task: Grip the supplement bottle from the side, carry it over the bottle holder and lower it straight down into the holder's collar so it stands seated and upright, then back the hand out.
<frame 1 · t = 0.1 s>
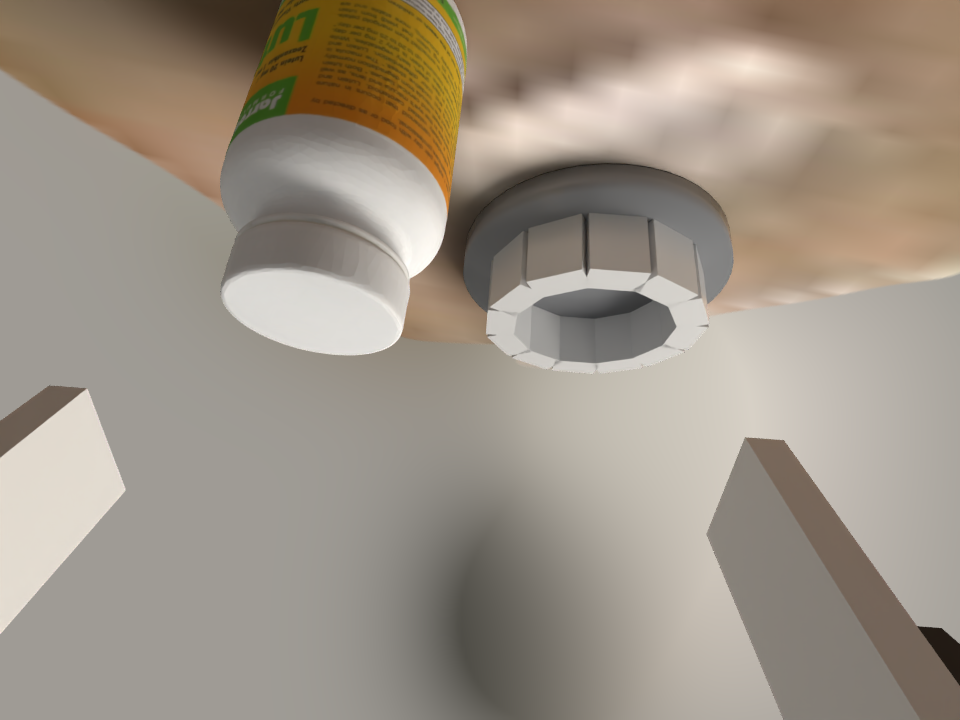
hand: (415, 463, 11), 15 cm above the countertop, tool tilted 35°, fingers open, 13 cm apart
supplement bottle: (380, 31, 18), on the countertop
bottle holder: (591, 259, 29), on the countertop
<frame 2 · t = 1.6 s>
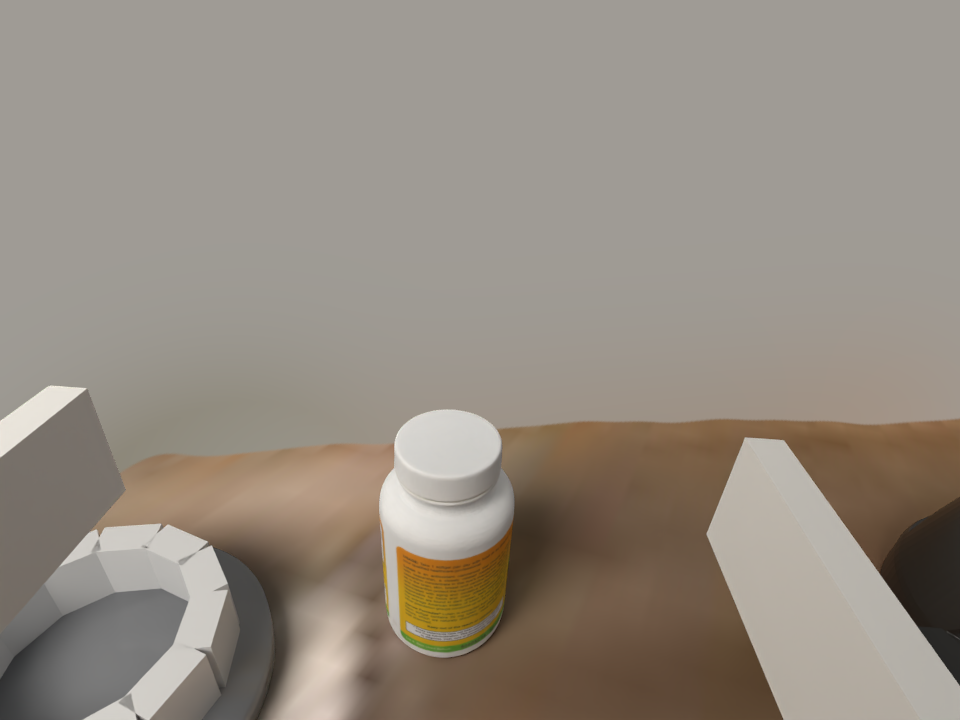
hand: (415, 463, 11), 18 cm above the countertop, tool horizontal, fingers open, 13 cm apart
supplement bottle: (445, 605, 28), on the countertop
bottle holder: (111, 689, 24), on the countertop
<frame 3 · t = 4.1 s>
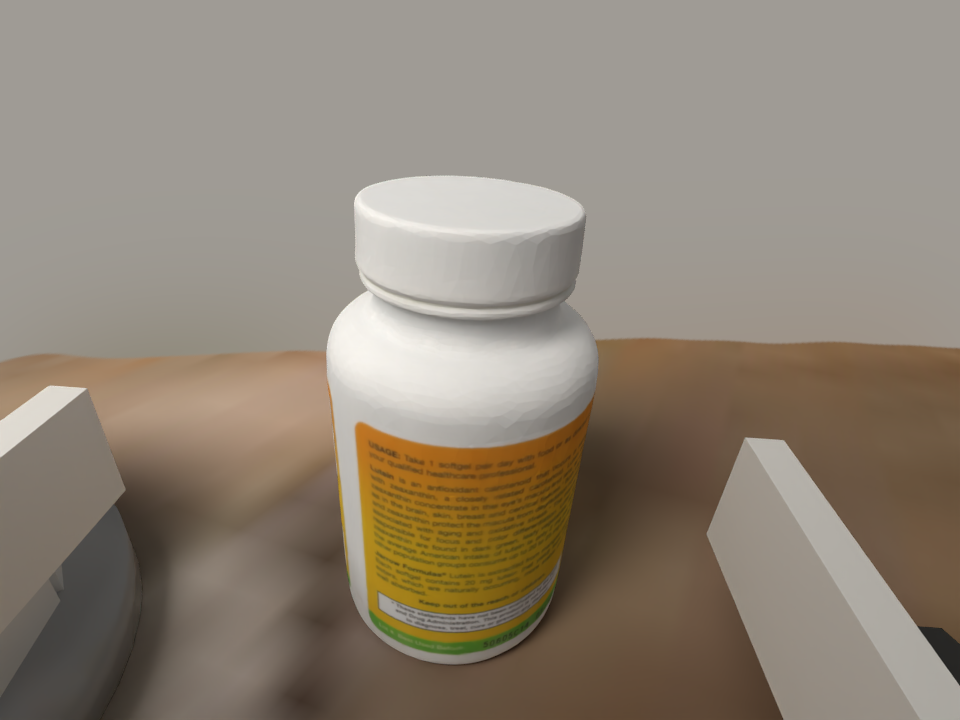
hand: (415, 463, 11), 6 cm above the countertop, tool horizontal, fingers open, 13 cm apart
supplement bottle: (453, 574, 16), on the countertop
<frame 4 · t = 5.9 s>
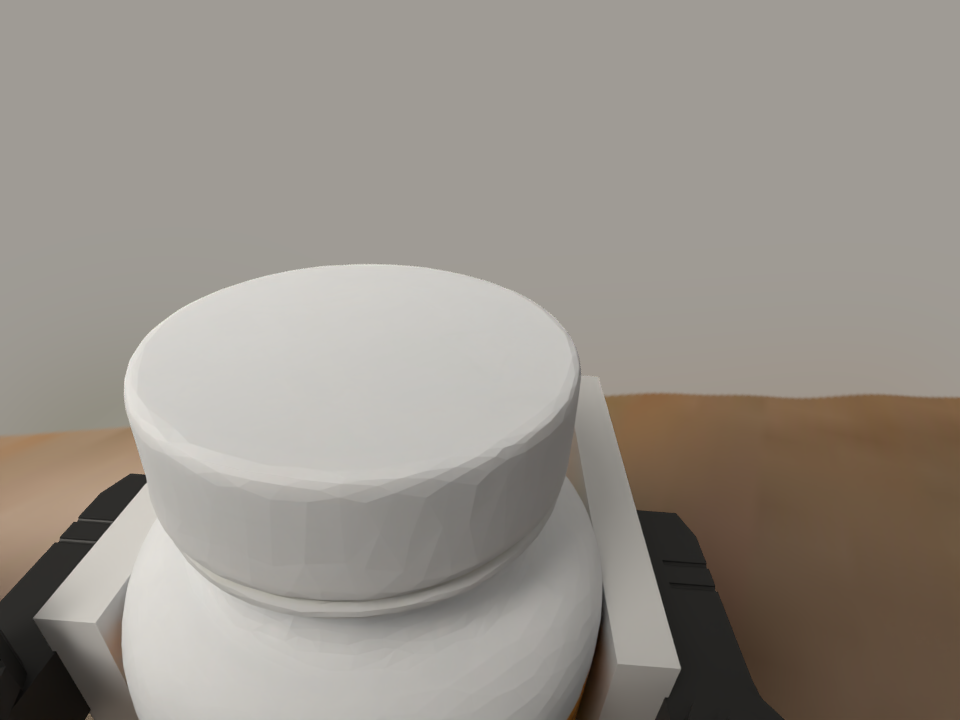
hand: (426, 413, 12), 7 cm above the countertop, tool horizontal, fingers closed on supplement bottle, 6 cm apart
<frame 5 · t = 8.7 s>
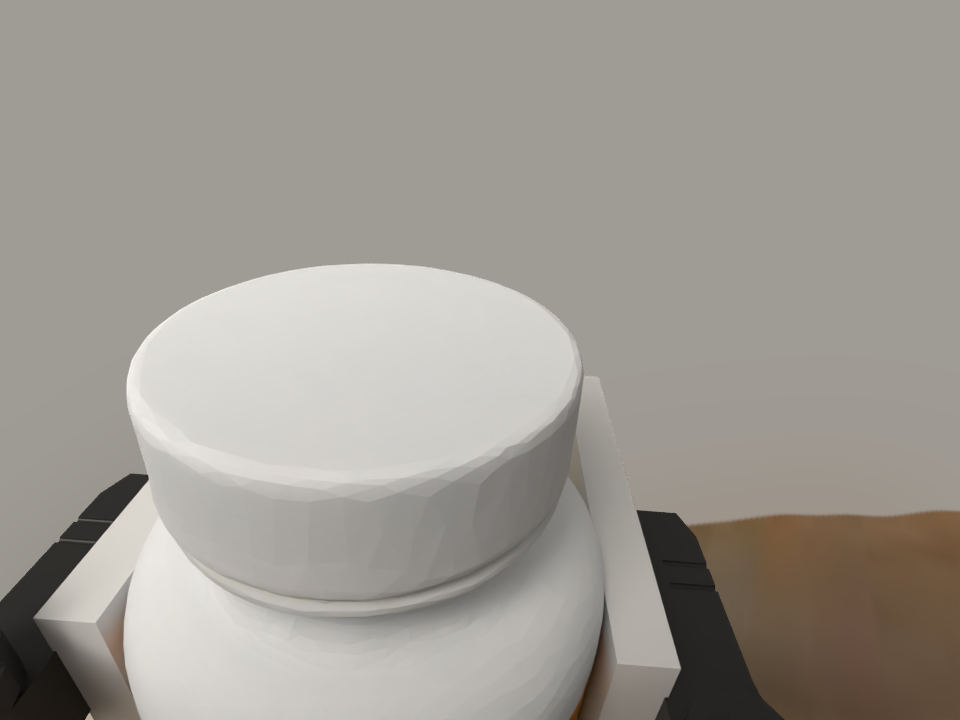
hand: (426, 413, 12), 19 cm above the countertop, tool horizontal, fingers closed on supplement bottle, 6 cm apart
when the fingers open (9 cm above the countertop, at t = 11.8 s): supplement bottle drops 1 cm, resting on bottle holder.
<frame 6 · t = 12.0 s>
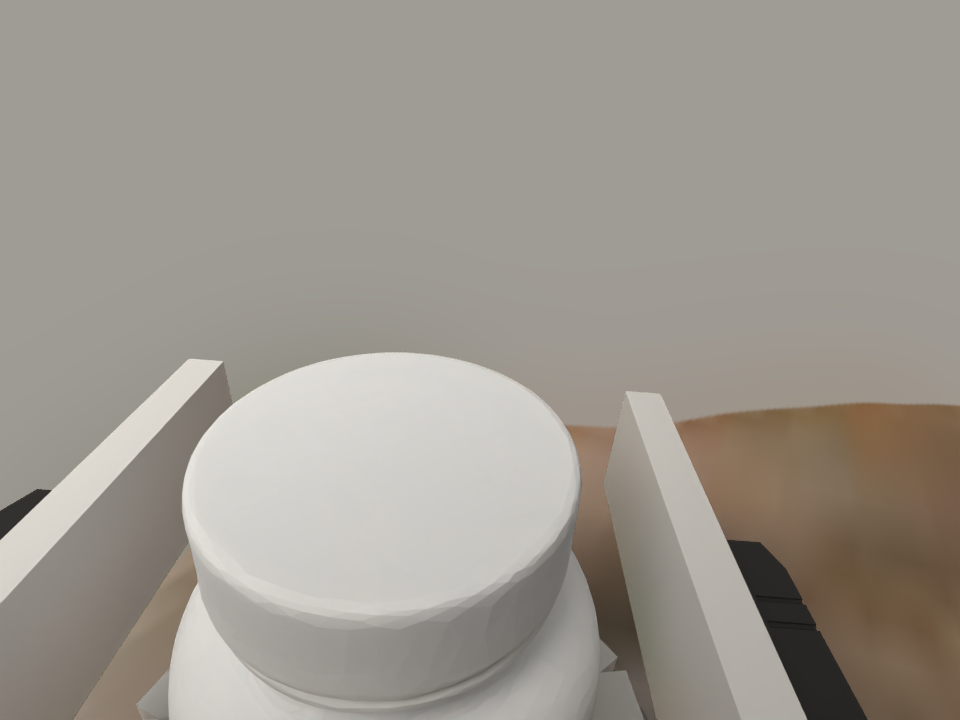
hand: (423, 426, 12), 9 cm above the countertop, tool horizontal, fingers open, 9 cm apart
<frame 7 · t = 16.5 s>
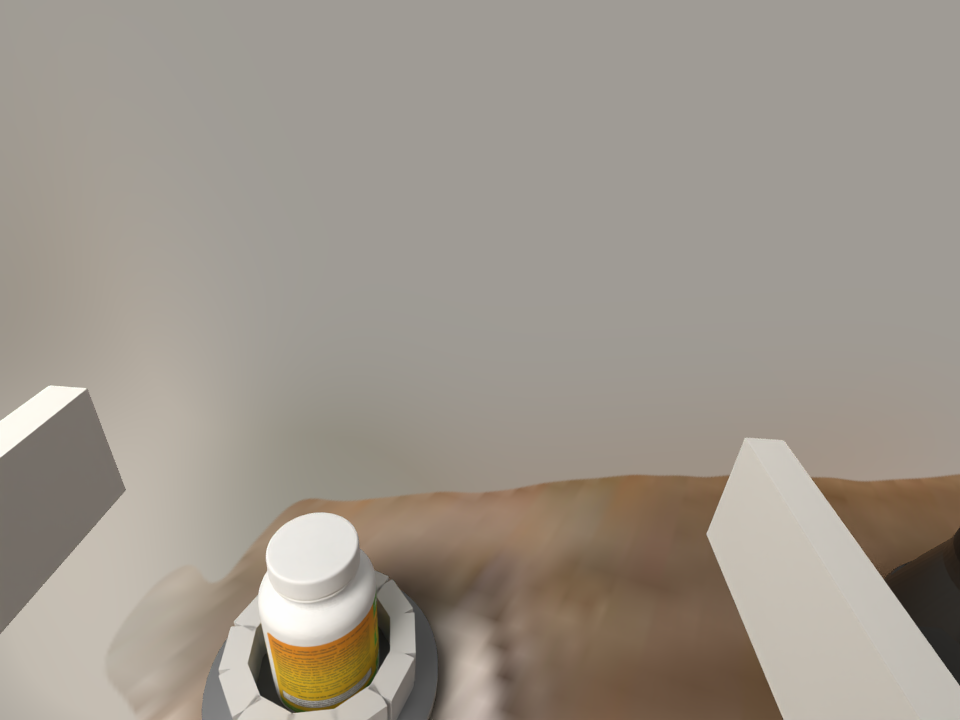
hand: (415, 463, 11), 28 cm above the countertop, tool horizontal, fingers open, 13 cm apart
supplement bottle: (329, 670, 33), point 1 cm above the countertop, touching bottle holder
bottle holder: (327, 681, 34), on the countertop
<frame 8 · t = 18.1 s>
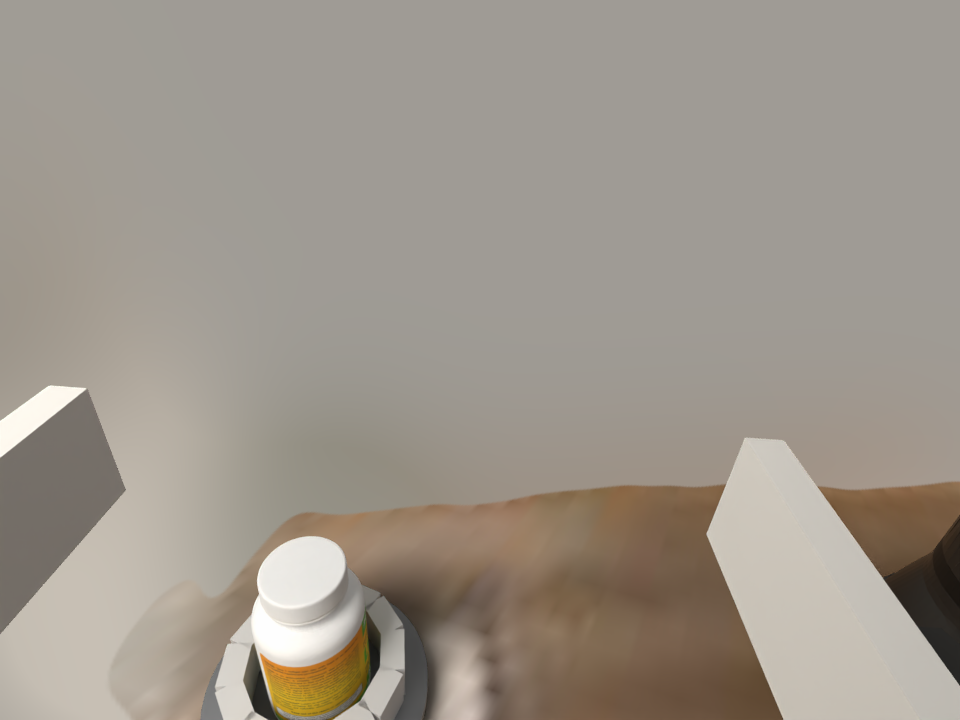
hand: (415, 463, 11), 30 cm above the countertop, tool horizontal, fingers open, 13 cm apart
supplement bottle: (322, 685, 34), point 1 cm above the countertop, touching bottle holder
bottle holder: (321, 695, 35), on the countertop
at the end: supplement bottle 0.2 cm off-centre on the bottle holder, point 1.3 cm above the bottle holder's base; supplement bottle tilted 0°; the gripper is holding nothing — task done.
